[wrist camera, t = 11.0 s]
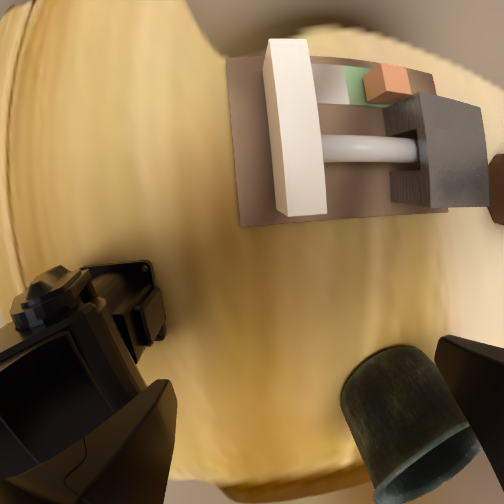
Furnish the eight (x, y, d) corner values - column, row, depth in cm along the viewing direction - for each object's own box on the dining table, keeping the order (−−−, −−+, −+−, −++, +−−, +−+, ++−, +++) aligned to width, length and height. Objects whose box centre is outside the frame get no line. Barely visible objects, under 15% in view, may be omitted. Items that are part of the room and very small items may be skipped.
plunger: (276, 209, 18) (287, 216, 14) (262, 69, 16) (269, 38, 12) (398, 202, 18) (435, 207, 14) (383, 76, 16) (414, 55, 12)
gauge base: (240, 225, 20) (240, 227, 19) (226, 63, 17) (225, 57, 16) (441, 210, 20) (448, 212, 19) (425, 77, 17) (432, 74, 16)
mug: (386, 320, 22) (467, 405, 10) (455, 368, 24) (513, 426, 13) (311, 407, 24) (343, 508, 12) (396, 433, 26) (434, 500, 15)
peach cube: (367, 102, 17) (386, 90, 14) (362, 77, 16) (380, 63, 13) (390, 104, 17) (411, 94, 14) (386, 80, 16) (405, 67, 13)
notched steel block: (390, 201, 19) (430, 208, 14) (382, 108, 17) (418, 91, 12) (447, 200, 19) (489, 206, 14) (440, 117, 17) (480, 107, 12)
